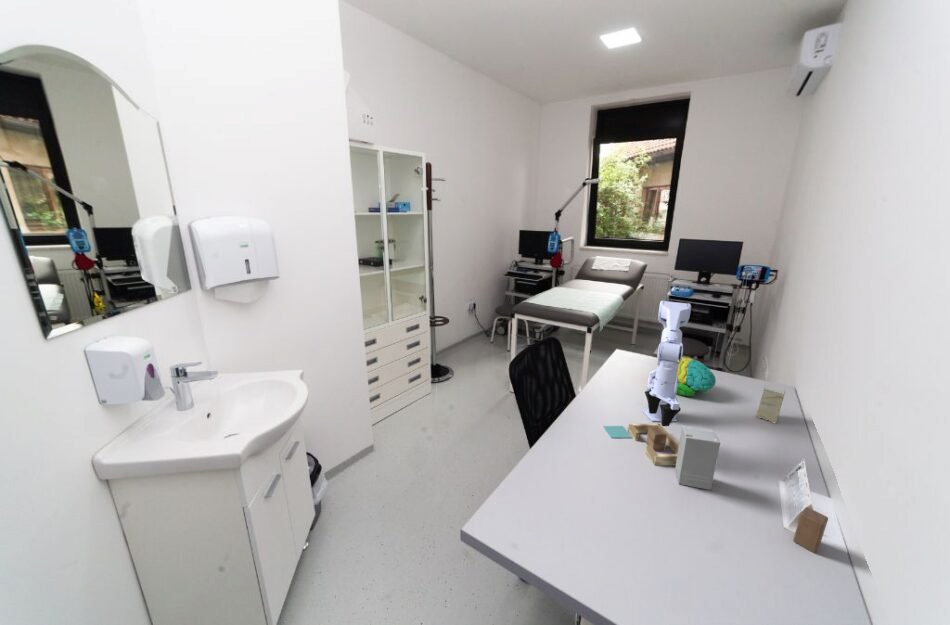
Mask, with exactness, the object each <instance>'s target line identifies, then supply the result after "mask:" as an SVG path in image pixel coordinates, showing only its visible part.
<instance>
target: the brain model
mask: <svg viewBox="0 0 950 625" xmlns="http://www.w3.org/2000/svg"><path fill="white" fill-rule="evenodd" d="M678 363H679V359H678ZM655 369H657V367H655ZM677 377H678V387H677V393H676V395H680V396H683V397H690V396H694V395H695V394H696V392H705V393H706V392H708V391H710V390H711V389H713V387H715V385H716V381H717V380H716V376H715V374H714V373H713V371H711V370H710V368H709V367H708V366H706V365H705V364H703V363H702V362H701V361H698V360H695V359H692V358H690V357H683V356H682V359H681V362H680V363H679V366H678V371H677Z"/></svg>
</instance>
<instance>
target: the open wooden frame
mask: <svg viewBox="0 0 950 625" xmlns="http://www.w3.org/2000/svg"><path fill="white" fill-rule="evenodd" d="M651 427H660V428H661V429H662V430H663V431H664V432H665V433H666V434H667V439H666V444H667V445H668V446H669V447H670V449H671V450H673V452H674V453H672V454H669V453H667V454H663V453H661V454H658V453H657V451H654V450H653V448H652V447H651V446H648V445H646V449H645V455H646V456H647V458H648V459H649V460H650V461H651V462H652V464H653V465H654V466H676V461H677V455H678V448H679V442H678V441H677V440H676V439H675V438H674V437H673V436H672V435H671V434H670V432H668V430H667V429H666V428H664V426H662V424H660V423H628V428H627V432H628V433H629V435H630V436H631V437H632V439H633V440H634V441H635V442H637V441H638V442H639V439H640V438H639V437H640V434H648V428H651Z"/></svg>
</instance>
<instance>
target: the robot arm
mask: <svg viewBox="0 0 950 625" xmlns="http://www.w3.org/2000/svg"><path fill="white" fill-rule="evenodd" d="M691 309H692V305H691V303H687V302H686V303H684V302H678V301H677V302H675V301H669V300H667V301H666V300H664V299H663V300H661V301H660V303H659V308H658V314H657V320H658V323H660V324H662V325H663V330H662V332H661V339H660V343H659V344H658V348H657V349H658V350H657V355H656V356H657V357H656V358H657V361H656V368H657V369H656V368H654V369H652V370H650V372H649V375H648V378H647V385H646V390H645V392H644V394H645V397H646V399H647V408H646V409H641V411H642V412H643V413H644V415H645V416H646V417H647V418H648V419H649V420H650V421H651V422H661V424H660V425H661V426H662V427H669V426H670V425H671V424H672V422H677V421H678V420H677V419H676V418H677V414H678V413H679V412H681V407H680V403H679V401H678V397H677V394H676V393H677V387H678V377H677V371H678V366H679V363H680V362H681V359H682V357H683V352H684V345H683V343H682V342H683V341H682V340H683V339H682V338H683V332H682V330H681V329H680V328H681V327H686V326H687V324H688V322H689V320H690V317H691V316H690V315H691V311H692V310H691ZM678 359H679V363H678Z"/></svg>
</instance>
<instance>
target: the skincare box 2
mask: <svg viewBox="0 0 950 625" xmlns="http://www.w3.org/2000/svg"><path fill="white" fill-rule="evenodd" d="M785 394H786V390H785V389H781V388H776V387H774V386H769V385H764V386H763V390H762V394H761V398H760V401H759V405H758V409H757V413H756V416H757V417H760V418H763V419H766V420H765V421H767V420H769V421H768V422H770V421H772V422H771V423H773V422H775V423H774V424H777V421H778V420H779V415H780V411H781V408H782V405H783V401H784V398H785ZM757 417H756V418H757ZM760 418H759V419H760ZM763 419H762V420H763Z"/></svg>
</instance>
